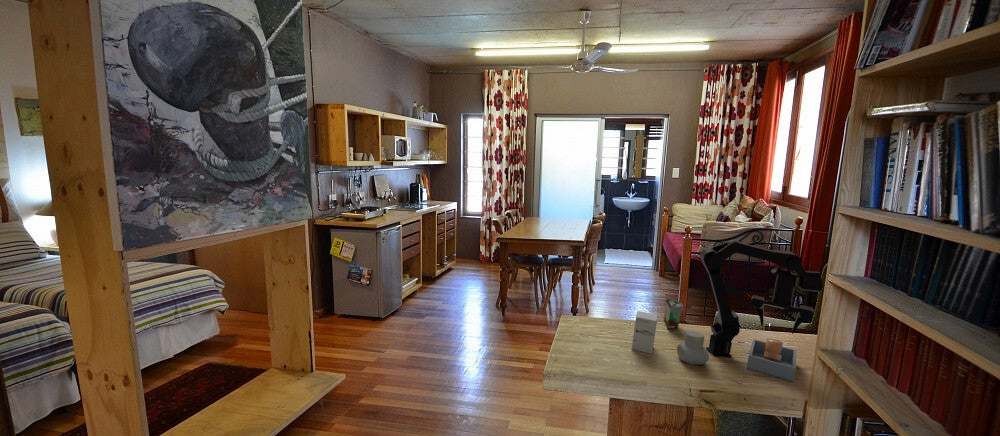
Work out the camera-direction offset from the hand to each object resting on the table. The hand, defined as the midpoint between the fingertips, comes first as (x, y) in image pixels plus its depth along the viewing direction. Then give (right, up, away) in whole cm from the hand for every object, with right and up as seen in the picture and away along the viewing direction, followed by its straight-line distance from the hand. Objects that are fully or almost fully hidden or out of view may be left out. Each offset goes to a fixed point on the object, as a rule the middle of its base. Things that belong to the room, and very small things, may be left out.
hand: (777, 329), depth 160 cm
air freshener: (-31, -11, -2) cm, 33 cm away
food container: (-26, -6, +29) cm, 39 cm away
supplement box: (-46, -8, +5) cm, 47 cm away
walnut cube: (-6, -12, -6) cm, 15 cm away
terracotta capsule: (-1, -11, +2) cm, 11 cm away
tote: (-3, -12, -2) cm, 13 cm away
